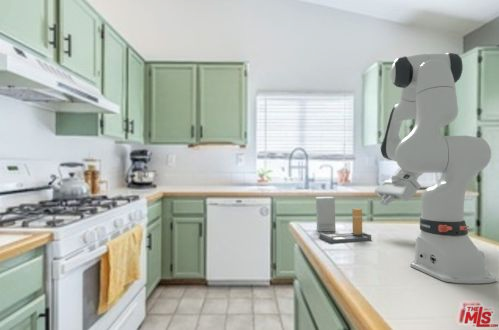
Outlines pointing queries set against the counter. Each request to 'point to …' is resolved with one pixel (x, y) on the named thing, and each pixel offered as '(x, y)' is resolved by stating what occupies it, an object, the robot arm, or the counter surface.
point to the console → (344, 237)
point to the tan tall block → (357, 222)
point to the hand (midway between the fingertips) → (382, 204)
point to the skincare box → (325, 213)
